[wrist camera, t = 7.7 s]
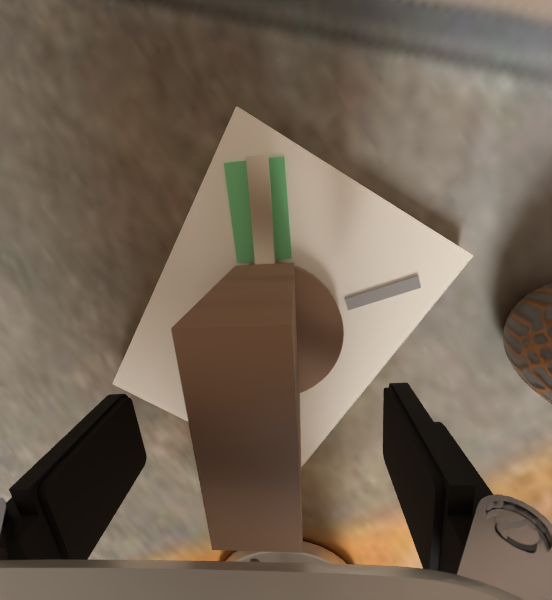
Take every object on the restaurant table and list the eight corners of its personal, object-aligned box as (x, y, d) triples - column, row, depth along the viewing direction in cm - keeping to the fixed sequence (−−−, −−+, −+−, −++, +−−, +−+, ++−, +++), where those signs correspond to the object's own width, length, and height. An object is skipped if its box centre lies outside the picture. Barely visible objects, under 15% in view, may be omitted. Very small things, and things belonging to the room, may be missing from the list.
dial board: (295, 457, 22) (295, 477, 20) (125, 371, 20) (110, 385, 19) (458, 251, 16) (475, 256, 15) (242, 115, 15) (235, 104, 13)
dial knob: (341, 388, 17) (382, 555, 9) (212, 390, 18) (140, 547, 10) (342, 151, 14) (418, 62, 5) (177, 164, 14) (9, 104, 6)
